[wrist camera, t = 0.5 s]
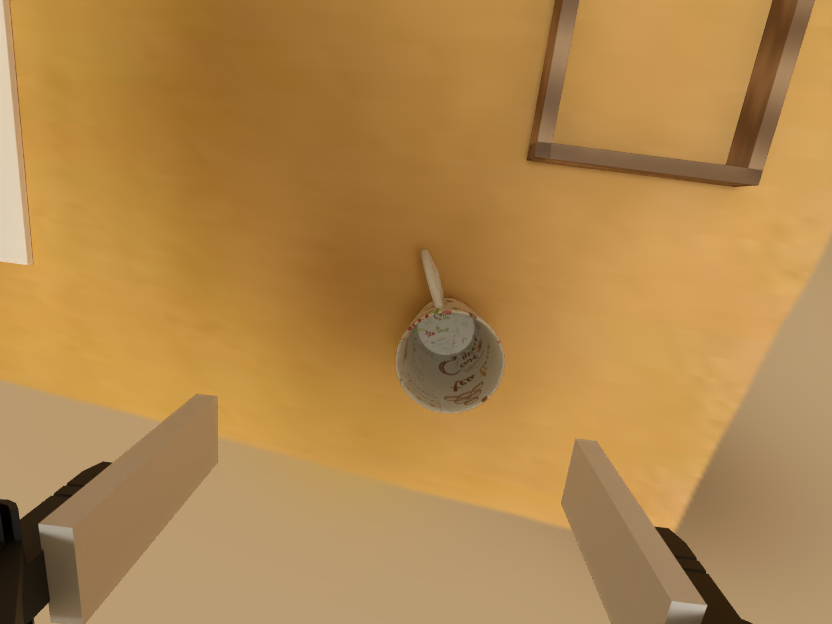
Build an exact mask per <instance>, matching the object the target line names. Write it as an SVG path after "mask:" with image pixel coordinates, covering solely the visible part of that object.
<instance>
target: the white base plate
mask: <svg viewBox="0 0 832 624" xmlns="http://www.w3.org/2000/svg"><path fill="white" fill-rule="evenodd" d="M0 261H1V262H9V263H17V264H24V265H31V264H33V257H32V246H31V235H30V224H29V213H28V202H27V191H26V180H25V169H24V158H23V146H22V135H21V124H20V113H19V102H18V91H17V80H16V69H15V58H14V47H13V36H12V25H11V14H10V3H9V0H0Z"/></svg>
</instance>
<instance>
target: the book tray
mask: <svg viewBox="0 0 832 624" xmlns="http://www.w3.org/2000/svg"><path fill="white" fill-rule="evenodd" d="M814 2H815V0H773V2H772V6H771V9H770V13H769V16H768V20H767V23H766V27H765V30H764V34H763V37H762V41H761V44H760V48H759V51H758V55H757V58H756V62H755V65H754V69H753V72H752V76H751V79H750V83H749V86H748V90H747V93H746V97H745V100H744V104H743V107H742V111H741V115H740V118H739V122H738V125H737V129H736V132H735V136H734V139H733V143H732V146H731V150H730V153H729V157H728V160H727V164H726V165H719V164H711V163H704V162H696V161H688V160H680V159H672V158H664V157H657V156H649V155H641V154H633V153H625V152H618V151H610V150H602V149H594V148H586V147H578V146H571V145H563V144H555V143H552V141H553V136H554V130H555V125H556V120H557V115H558V109H559V104H560V99H561V93H562V88H563V83H564V78H565V72H566V67H567V62H568V56H569V51H570V46H571V41H572V35H573V30H574V25H575V20H576V14H577V9H578V4H579V0H555V6H554V11H553V17H552V23H551V28H550V34H549V39H548V45H547V51H546V56H545V62H544V68H543V73H542V79H541V84H540V90H539V96H538V101H537V107H536V113H535V118H534V124H533V129H532V135H531V141H530V146H529V152H528V157H527V160H530V161H537V162H545V163H553V164H561V165H569V166H576V167H584V168H592V169H600V170H608V171H615V172H623V173H631V174H639V175H647V176H654V177H662V178H670V179H678V180H686V181H693V182H701V183H709V184H717V185H725V186H732V187H738V186H756V185H759V182H760V178H761V175H762V172H763V169H764V165H765V162H766V159H767V156H768V152H769V149H770V146H771V142H772V139H773V136H774V133H775V129H776V126H777V123H778V120H779V116H780V113H781V110H782V106H783V103H784V100H785V97H786V93H787V90H788V87H789V84H790V80H791V77H792V74H793V70H794V67H795V64H796V61H797V57H798V54H799V51H800V48H801V44H802V41H803V38H804V34H805V31H806V28H807V25H808V21H809V18H810V15H811V12H812V8H813V5H814Z"/></svg>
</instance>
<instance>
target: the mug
mask: <svg viewBox="0 0 832 624" xmlns="http://www.w3.org/2000/svg"><path fill="white" fill-rule="evenodd" d="M421 258H422V263H423V268H424V272H425V276H426V280H427V283H428V286H429V290H430V293H431V296H432V300H433V301H431V302H430V303H428V304H427V305H425V306H424V307H423V308H422V309H421V311H420V312H419V313H418V315H417V316H416V317H415V318H414V320H413V321H412V322H411V324H410V325H409V326H408V327H407V329H406V330H405V332H404V333H403V335H402V337H401V339H400V341H399V343H398V346H397V350H396V356H395V367H396V373H397V376H398V379H399V382H400V384H401V386H402V387H403V389H404V390H405V392H406V393H407V394H408V395H409V396H410V398H412V399H413V400H414V401H415V402H416V403H418V404H419V405H421V406H423V407H425V408H427V409H429V410H432V411H436V412H440V413H459V412H464V411H468V410H470V409H473V408H475V407H477V406H479V405H480V404H482V403H483V402H485V401H486V400H487V399H488V398H489V397H490V396H491V395H492V394H493V393H494V392H495V390H496V389H497V387H498V385H499V383H500V381H501V379H502V376H503V372H504V366H505V356H504V350H503V346H502V344H501V341H500V339H499V337H498V335H497V334H496V332H495V331H494V329H493V328H492V327H491V326H490V325H489V324H488V323H487V322H486V321H485V320H484V319H483V318H482V317H480V316H479V315H478V314H477V313H476V312H475V311H473V310H472V309H471V308H470V307H469V306H467V305H466V304H465V303H463V302H461V301H459V300H457V299H453V298H444V295H443V290H442V286H441V281H440V277H439V272H438V270H437V267H436V265H435V263H434V261H433V259H432V257H431V255H430V253H429V251H428V250H427V249H423V250H422V251H421Z"/></svg>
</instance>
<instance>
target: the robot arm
mask: <svg viewBox="0 0 832 624" xmlns="http://www.w3.org/2000/svg"><path fill="white" fill-rule="evenodd" d="M217 463H218V402H217V396H211V395H202V394H196V395H195V396H194V397H192V398H191V399H190V400H189V401H187V402H186V403H185V404H184V405H183V406H181V407H180V408H179V409H178V410H176V411H175V412H174V413H173V414H172V415H170V416H169V417H168V418H167V419H166V420H164V421H163V422H162V423H161V424H159V425H158V426H157V427H156V428H155V429H153V430H152V431H151V432H150V433H148V435H146V436H145V437H144V438H142V439H141V440H140V441H139V442H137V443H136V444H135V445H134V446H133V447H131V448H130V449H129V450H128V451H126V452H125V453H124V454H123V455H122V456H120V457H119V458H118V459H117V460H116V461H114V462H113V463H110V462H101V463H99V464H97V465H95V466H93V467H91V468H89V469H86V470H84V471H82V472H81V473H80V474H79V475H77V476H76V477H75V478H73V479H72V480H71V481H69V482H68V483H67V485H66V486H63V487H62V488H60V489H59V490H58V491H56V492H55V493H54V495H53V496H50V497H49V498H47V499H46V500H45V501H44V502H42V503H41V504H40V505H39V506H37V507H36V508H34V509H33V510H32V511H31V512H29V513H28V514H27V515H26V516H24V517H23V518H22V519H19V511H18V507H17V505H16V503H15V502H12V501H10V500H3V499H0V624H34V617H35V616H36V615H37V614H38V613H39V612H40V610H42V609H43V608H44V606H46V604H47V603H49V611H50V618H51V622H52V623H60V624H85V623H86V622H87V621H88V620H89V618H90V617H91V616H92V615H93V614H94V612H95V611H96V610H97V609H98V608H99V606H100V605H101V604H102V603H103V601H104V600H105V599H106V598H107V597H108V595H109V594H110V593H111V592H112V591H113V589H114V588H115V587H116V586H117V584H118V583H119V582H120V581H121V580H122V578H123V577H124V576H125V575H126V574H127V572H128V571H129V570H130V569H131V567H132V566H133V565H134V564H135V563H136V561H137V560H138V559H139V558H140V556H141V555H142V554H143V553H144V551H145V550H146V549H147V548H148V547H149V545H150V544H151V543H152V542H153V541H154V539H155V538H156V537H157V536H158V534H159V533H160V532H161V531H162V530H163V528H164V527H165V526H166V525H167V524H168V522H169V521H170V520H171V519H172V518H173V516H174V515H175V514H176V513H177V511H178V510H179V509H180V508H181V507H182V505H183V504H184V503H185V502H186V501H187V499H188V498H189V497H190V496H191V494H192V493H193V492H194V491H195V489H196V488H197V487H198V486H199V485H200V483H201V482H202V481H203V480H204V479H205V477H206V476H207V475H208V474H209V473H210V471H211V470H212V469H213V468H214V466H215V465H216V464H217ZM561 505H562V507H563V509H564V512H565V514H566V517H567V519H568V521H569V524H570V526H571V529H572V531H573V533H574V536H575V538H576V540H577V543H578V545H579V548H580V550H581V552H582V555H583V557H584V560H585V562H586V564H587V567H588V569H589V572H590V574H591V576H592V579H593V581H594V584H595V586H596V588H597V591H598V593H599V596H600V598H601V600H602V603H603V605H604V608H605V610H606V612H607V615H608V617H609V620H610V622H611V624H752V623H750V622H748V621H745V620H743V619H741V618H740V617H739V615H738V614H737V613H736V611H735V610H734V609H733V607H732V606H731V604H730V603H729V602H728V600H727V599H726V598H725V596H724V595H723V594H722V592H721V591H720V589H719V588H718V587H717V585H716V584H715V583H714V581H713V580H712V578H711V577H710V576H709V574H706V570H705V569H704V567H703V566H702V565H701V564H700V562H699V561H697V558H696V557H695V555H694V554H693V553H692V551H691V550H690V548H689V547H688V546H687V544H686V543H685V542H684V541H682V539H680V538H679V537H678V536H677V535H676V534H675V533H673V532H672V531H671V530H670V529H669V528H662V527H654V526H653V524H652V523H651V521H650V520H649V518H648V517H647V515H646V514H645V512H644V511H643V509H642V508H641V506H640V505H639V503H638V502H637V500H636V499H635V497H634V496H633V494H632V493H631V491H630V490H629V488H628V487H627V485H626V484H625V482H624V481H623V479H622V478H621V477H620V475H619V474H618V472H617V471H616V469H615V468H614V466H613V465H612V463H611V462H610V460H609V459H608V457H607V456H606V454H605V453H604V451H603V450H602V448H601V447H600V445H599V444H598V442H597V441H592V440H583V439H575V443H574V448H573V452H572V457H571V461H570V466H569V470H568V474H567V479H566V483H565V488H564V492H563V497H562V501H561Z"/></svg>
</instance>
